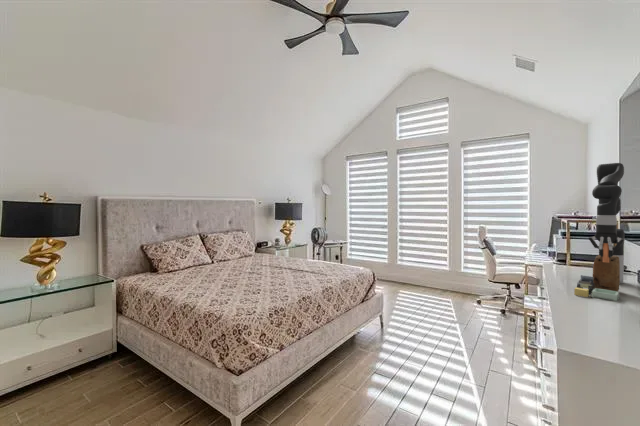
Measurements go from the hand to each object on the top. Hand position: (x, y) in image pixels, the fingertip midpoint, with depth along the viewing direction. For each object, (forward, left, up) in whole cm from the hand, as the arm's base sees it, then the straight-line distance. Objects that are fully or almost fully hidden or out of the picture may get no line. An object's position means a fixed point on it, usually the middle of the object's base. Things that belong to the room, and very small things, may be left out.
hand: (605, 256), depth 146 cm
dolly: (-6, -9, -21) cm, 24 cm away
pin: (0, 0, -3) cm, 3 cm away
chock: (+5, -9, -21) cm, 24 cm away
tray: (0, 0, -21) cm, 21 cm away
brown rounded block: (-16, -2, -21) cm, 27 cm away
